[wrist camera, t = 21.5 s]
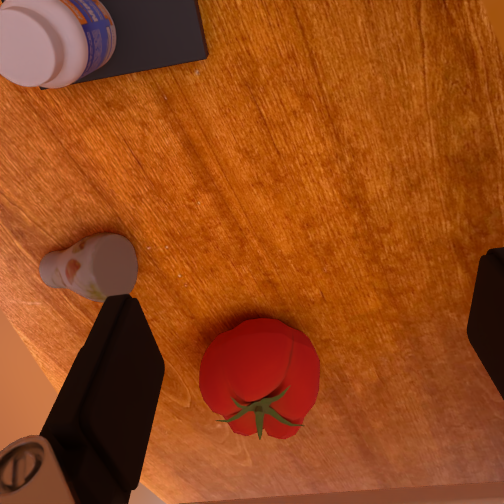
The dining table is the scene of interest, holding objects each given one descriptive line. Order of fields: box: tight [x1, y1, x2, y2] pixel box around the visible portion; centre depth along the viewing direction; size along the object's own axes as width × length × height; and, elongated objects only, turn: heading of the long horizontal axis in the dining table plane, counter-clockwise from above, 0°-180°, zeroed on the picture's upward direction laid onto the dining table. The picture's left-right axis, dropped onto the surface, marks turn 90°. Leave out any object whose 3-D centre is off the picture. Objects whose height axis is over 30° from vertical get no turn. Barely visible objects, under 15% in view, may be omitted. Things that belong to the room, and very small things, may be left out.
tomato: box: [199, 318, 320, 439], centre depth 47 cm, size 13×14×12 cm
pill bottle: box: [0, 0, 116, 88], centre depth 27 cm, size 5×5×10 cm
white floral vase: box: [39, 232, 138, 302], centre depth 42 cm, size 8×10×10 cm
